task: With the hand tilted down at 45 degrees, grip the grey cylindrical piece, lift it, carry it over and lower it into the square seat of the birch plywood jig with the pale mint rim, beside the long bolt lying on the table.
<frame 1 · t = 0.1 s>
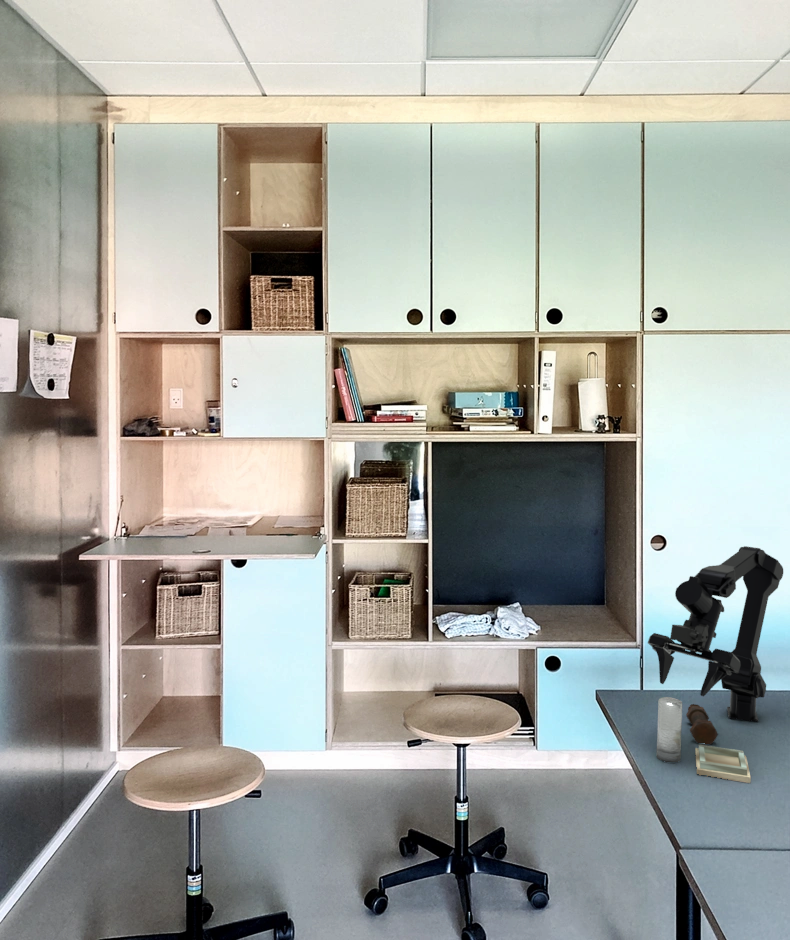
hand: (681, 689, 162), 15 cm above the table, tool tilted 35°, fingers open, 9 cm apart
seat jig: (721, 767, 157), on the table
grey cylindrical piece: (668, 757, 162), on the table
bolt: (699, 731, 176), on the table
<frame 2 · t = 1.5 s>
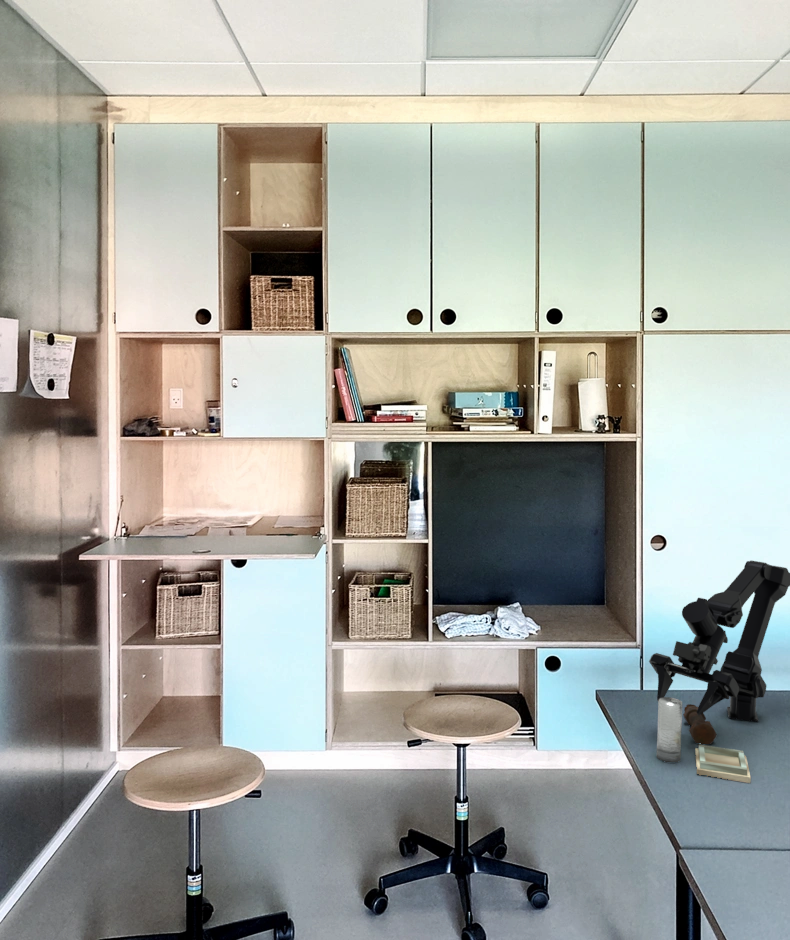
hand: (677, 707, 163), 10 cm above the table, tool tilted 45°, fingers open, 9 cm apart
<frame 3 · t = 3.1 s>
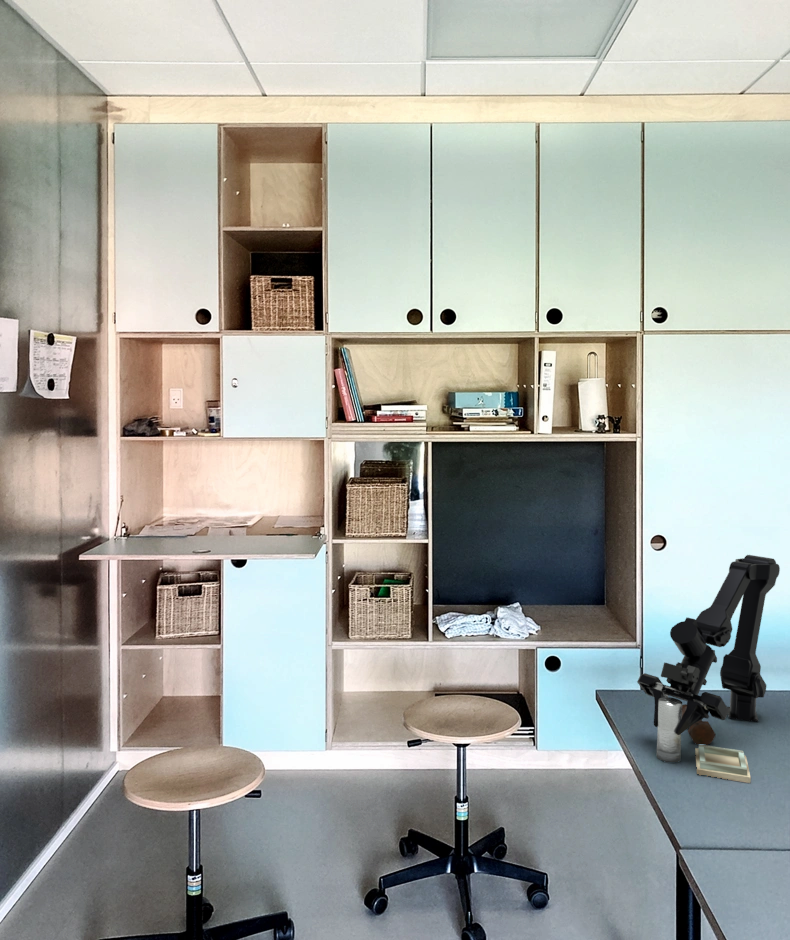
hand: (666, 729, 160), 7 cm above the table, tool tilted 45°, fingers closed on grey cylindrical piece, 5 cm apart
grey cylindrical piece: (668, 757, 162), on the table, touching gripper
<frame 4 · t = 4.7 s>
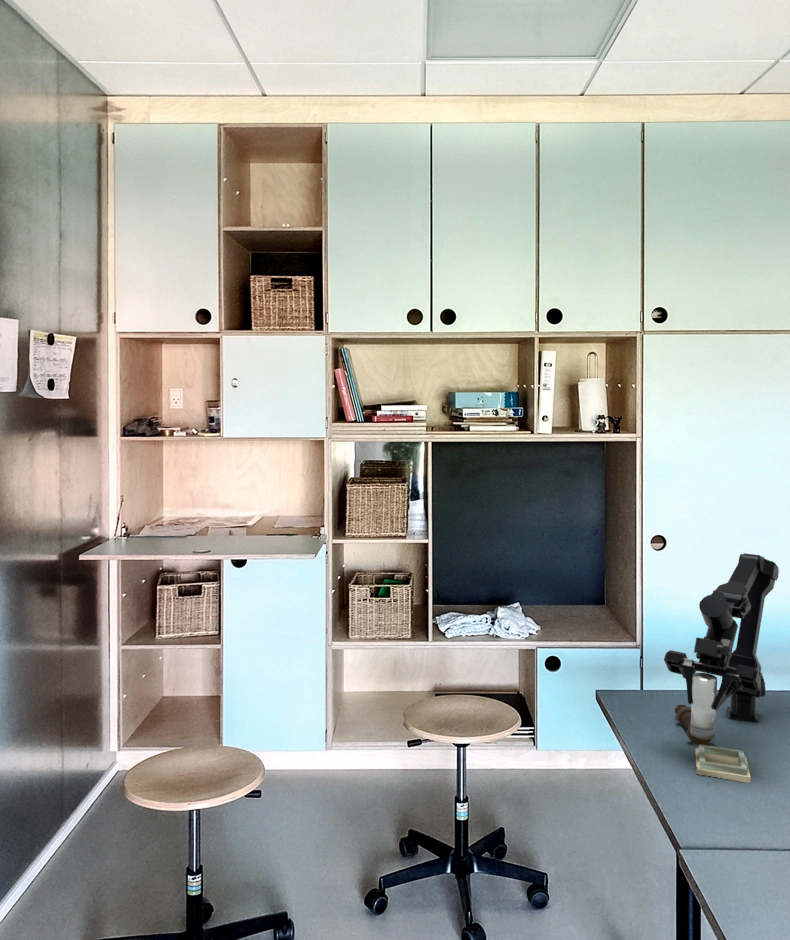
hand: (701, 706, 157), 13 cm above the table, tool tilted 45°, fingers closed on grey cylindrical piece, 5 cm apart
grey cylindrical piece: (702, 734, 158), point 7 cm above the table, touching gripper
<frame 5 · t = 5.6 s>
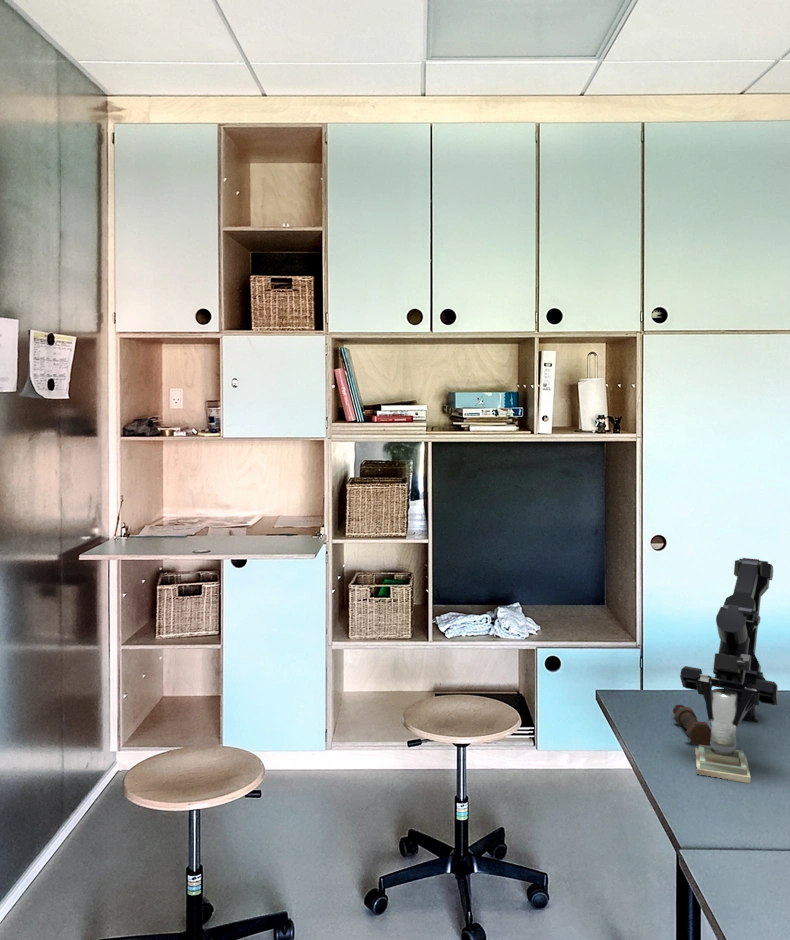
hand: (722, 722, 156), 10 cm above the table, tool tilted 45°, fingers closed on grey cylindrical piece, 5 cm apart
grey cylindrical piece: (722, 750, 157), point 4 cm above the table, touching gripper
when the fingers open (9 cm above the table, at t = 6.2 s): grey cylindrical piece drops 1 cm, resting on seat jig.
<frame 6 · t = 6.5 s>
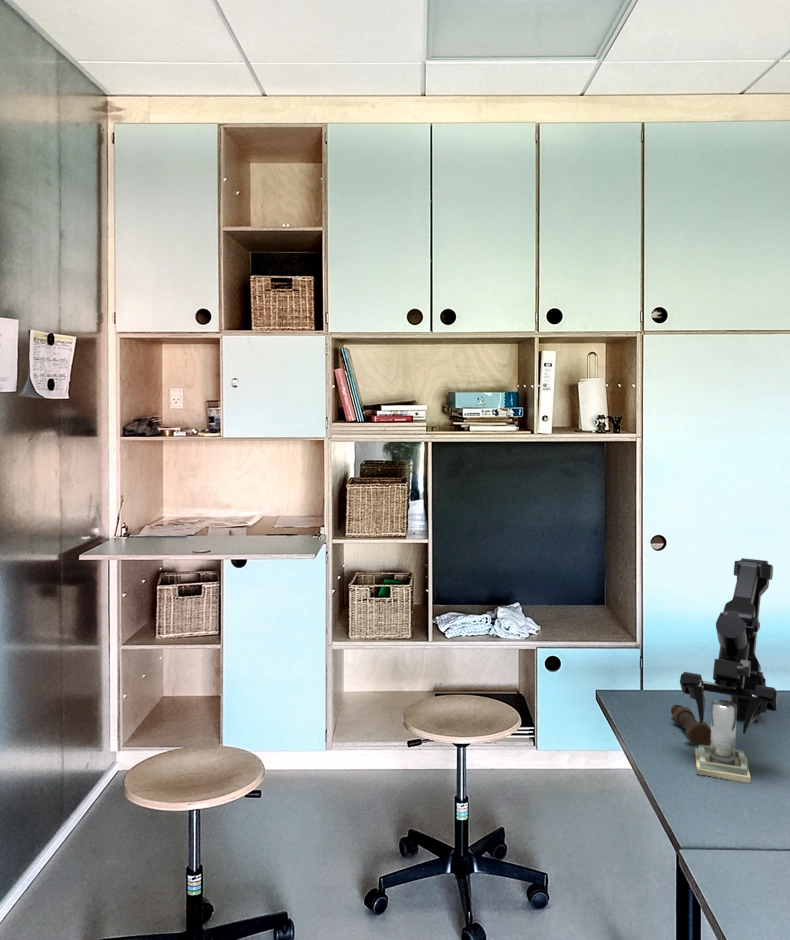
hand: (722, 728, 155), 9 cm above the table, tool tilted 45°, fingers open, 8 cm apart
grey cylindrical piece: (722, 761, 158), point 1 cm above the table, touching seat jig
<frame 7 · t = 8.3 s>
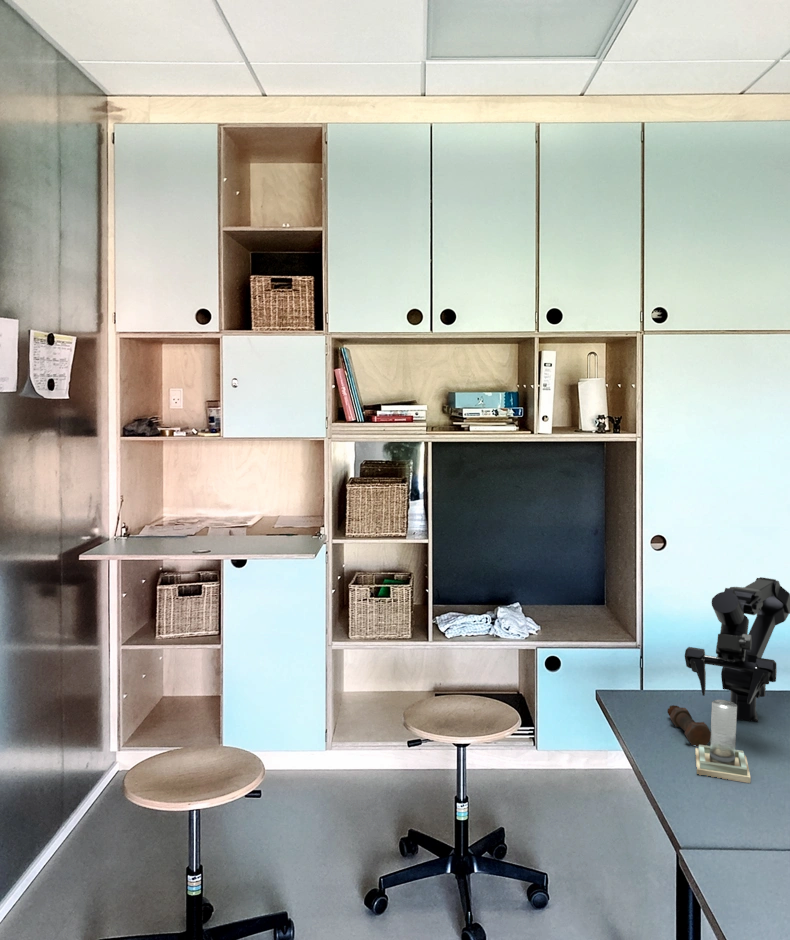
hand: (725, 699, 165), 11 cm above the table, tool tilted 45°, fingers open, 9 cm apart
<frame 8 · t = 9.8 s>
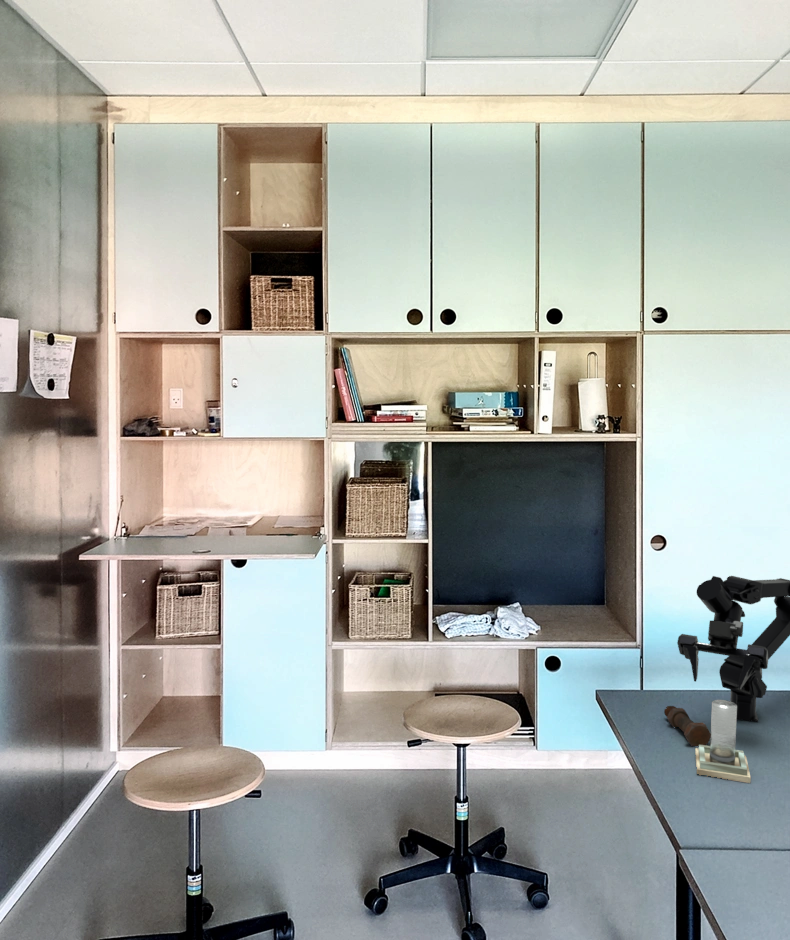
hand: (716, 684, 167), 14 cm above the table, tool tilted 45°, fingers open, 9 cm apart
at the end: grey cylindrical piece 0.2 cm off-centre on the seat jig, point 1.2 cm above the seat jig's base; grey cylindrical piece tilted 0°; the gripper is holding nothing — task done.
